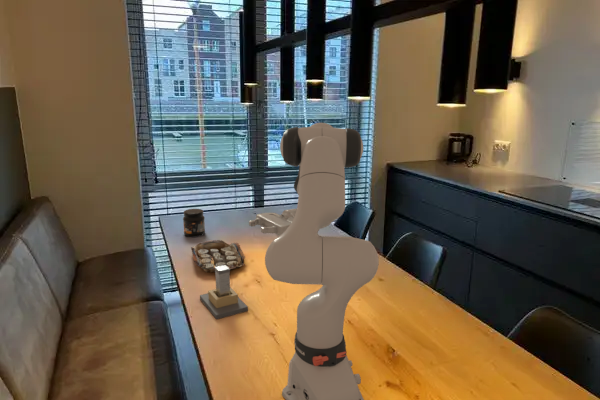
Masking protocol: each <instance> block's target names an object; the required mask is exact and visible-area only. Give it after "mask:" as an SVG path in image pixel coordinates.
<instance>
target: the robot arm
mask: <svg viewBox="0 0 600 400" xmlns="http://www.w3.org/2000/svg"><path fill="white" fill-rule="evenodd" d="M363 142H364V141H363V139H362V137H361V134H360V132H359V131H358V130H356V129H352V128H349V127H348V128H347V127H345V128H339V127H334V126H332V125H331V124H330V123H325V122H316V123H313V124H312V125H310V126H304V127H299V126H294V127H291V128H287V129H286V130H285V131H284V132H283V135H282V137H281V140H280V145H279V149H280V153H281V156H282V160H283V162H285V163H286V164H287V165H288V166H290V167H291V166H292V167H296V168H297V167H298V173H297V176H296V179H295V180H294V183H293V189H294V191H295V192H296V193H297V195H298V197H297V198H298V199H297V200H298V201H297V207H296V208H291V209H284V210H283V211H282V212H281V214H278V213H277V212H263V213H262V212H261V213H258V214H256V217H255V219H253V220H249V221H248V225H249V226H250V227H256V226H257V225H258V226H261V228H260V232H261V233H262V234H274V235H277V236H278V237H276V238H275V239H273V240H272V241H271V242H270V244H269V245H268V247H267V248H266V251H265V257H264V265H265V268H266V271H267V273H268V274H269V276H270V277H271V279H272V280H274V281H277V282H281V283H287V284H291V285H319V286H320V285H321V287H320V288H319V289H318V290H315V291H313V292H311V293H309V294H308V295H306V296H305V297H304V298H302V300H301V301H299V303H298V306H297V309H296V332H295V335H294V343H293V344H294V354H293V355H292V358H291V359H290V360H289V363H288V373H287V375H288V376H287V385H285V387H283V389H282V393H281V395H282V398H284V399H285V400H365V399H364V397H363V395H362V393H361V391H360V388H359V385H360V384H361V382H362V381H361V379H362V378H361V375H360V373H354V372H353V369H352V368H353V361H352V360H350V359H349V358H348V355H347V348H346V346H347V345H346V339H345V334H344V323H345V316H346V315H345V314H346V310H347V306H348V304H349V302H350V300H351V299H352V297H353V296H354V295H355V294H356V293H357V292H358V291H359V289H361V288H362V287H363V286H365V285H367V284H368V283H370V282H371V281H372V280H373V279H374V278H375V275H376V274H377V272H378V269H379V261H380V260H379V255H378V251H377V249H376V248H375V246H374V245H373V243H372V242H371V241H370V240H367V239H361V238H357V237H354V236H353V237H352V236H323V235H320V234H319V231H320V230H321V229H324V228H327V227H329V226H330V225H331V224H332V222H335V221H337V219H339V218H340V217H342V216H343V214H344V212H345V209H346V175H345V174H346V172H345V169H347V168H353V167H355V166H356V167H357V165H358V164H359V163H360V162H361V158H362V156H363V152H364V143H363Z"/></svg>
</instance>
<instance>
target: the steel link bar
mask: <svg viewBox="0 0 600 400" xmlns="http://www.w3.org/2000/svg"><path fill="white" fill-rule="evenodd" d="M214 268H215V272H214V274H215V289H216V295H217V297H218V298H219V297H223V296H227V295H230V287H231V284H230V283H231V277H230V274H231V273H230V272H231V269H229V268H228V267H227V266H226V265H223V266H218V267H215V266H214Z"/></svg>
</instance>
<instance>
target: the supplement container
mask: <svg viewBox="0 0 600 400" xmlns="http://www.w3.org/2000/svg"><path fill="white" fill-rule="evenodd" d="M182 221H183V234H184V236H186V237H188V238H190V237H191V238H193V237H194V238H195V237H201V236H203V235H204V234H205V233H206V228H205V226H206V225H205V222H206V221H205V216H204V210H203V209H201V208H200V209H199V208H189V209H186V210H184V211H183V218H182Z"/></svg>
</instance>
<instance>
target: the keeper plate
mask: <svg viewBox="0 0 600 400" xmlns="http://www.w3.org/2000/svg"><path fill="white" fill-rule="evenodd" d="M199 299H200V301H201V302H202V303H203V305H204V306H205V307H206V308H207V310H208V311H209V312H210V313H211V314H212V316H213V317H214V319H216V320H219V319H222V318H227V317H231V316H234V315H238V314H242V313H245V312H248V311H249V306H248V305H247V304H246V303H245V302H244V301H243V300H242V299H241V298H240V297H239V294H238V293H237V292H236V291H235V290H234V289H233V288H232V287H231V286H230V295H227V296H223V297H219V298H218V297H217V295H216V288H214V289H210V290H208V292H207V293H203V294H200V295H199Z"/></svg>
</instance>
